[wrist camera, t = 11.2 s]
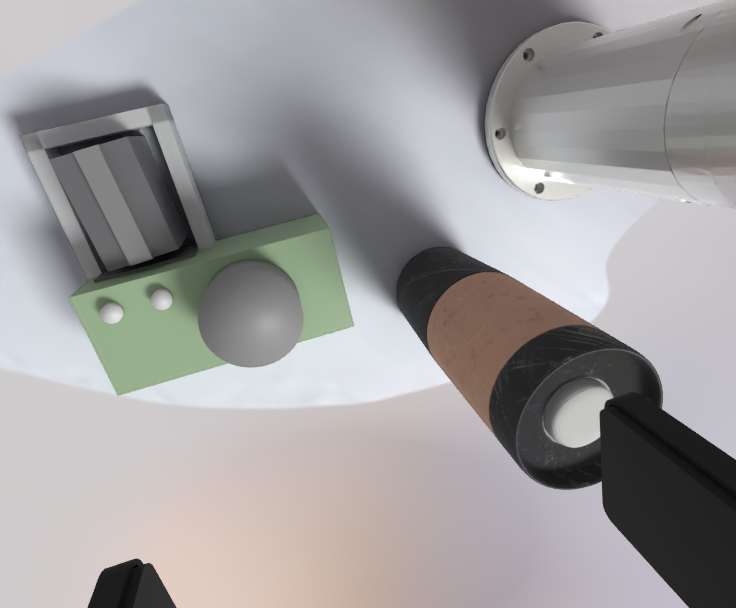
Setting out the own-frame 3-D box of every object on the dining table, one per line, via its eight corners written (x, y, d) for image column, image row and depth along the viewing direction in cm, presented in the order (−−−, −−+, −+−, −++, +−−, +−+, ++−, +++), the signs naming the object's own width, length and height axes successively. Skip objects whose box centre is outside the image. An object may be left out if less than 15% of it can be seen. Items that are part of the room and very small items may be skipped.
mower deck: (283, 79, 32) (291, 59, 23) (340, 298, 38) (363, 343, 30) (33, 135, 30) (-54, 135, 21) (136, 356, 36) (99, 423, 28)
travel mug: (381, 261, 37) (497, 383, 19) (469, 230, 38) (663, 318, 20) (405, 342, 40) (527, 516, 22) (486, 312, 41) (670, 456, 23)
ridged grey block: (144, 136, 31) (124, 136, 27) (188, 235, 34) (177, 250, 29) (77, 156, 31) (44, 160, 26) (126, 254, 33) (105, 274, 29)
